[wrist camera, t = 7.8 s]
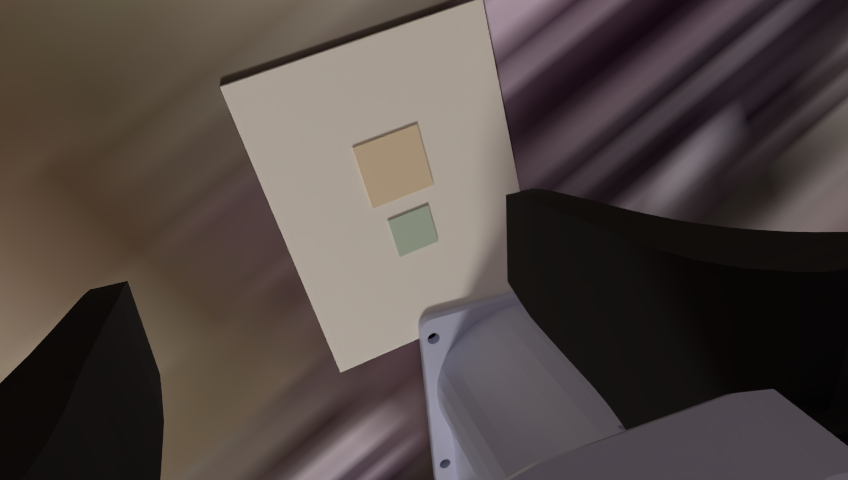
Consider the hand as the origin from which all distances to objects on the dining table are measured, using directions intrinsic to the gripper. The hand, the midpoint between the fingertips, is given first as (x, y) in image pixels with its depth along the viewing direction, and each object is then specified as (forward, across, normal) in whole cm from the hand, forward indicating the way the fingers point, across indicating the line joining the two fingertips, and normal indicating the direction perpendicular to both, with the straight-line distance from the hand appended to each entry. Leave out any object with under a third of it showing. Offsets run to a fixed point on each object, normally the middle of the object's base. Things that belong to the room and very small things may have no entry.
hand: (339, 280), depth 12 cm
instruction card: (+10, -4, +4) cm, 12 cm away
